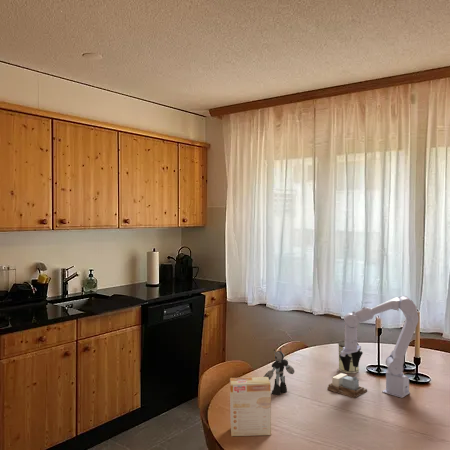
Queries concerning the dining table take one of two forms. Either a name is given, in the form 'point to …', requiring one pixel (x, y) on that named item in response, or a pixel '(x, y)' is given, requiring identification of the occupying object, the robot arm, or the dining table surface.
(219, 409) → the dining table surface
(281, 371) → the robot
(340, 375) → the cream rectangular block
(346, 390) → the jig
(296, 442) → the dining table surface
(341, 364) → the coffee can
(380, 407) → the dining table surface
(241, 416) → the coffeecake box
